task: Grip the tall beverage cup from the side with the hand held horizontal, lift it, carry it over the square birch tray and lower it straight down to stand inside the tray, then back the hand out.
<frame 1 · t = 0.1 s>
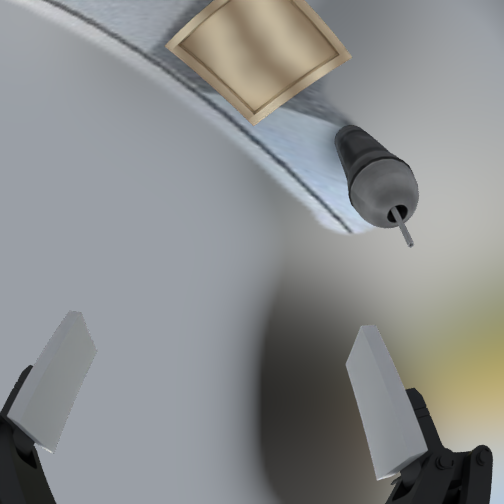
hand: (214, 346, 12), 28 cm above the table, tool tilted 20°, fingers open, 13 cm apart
beverage cup: (350, 140, 32), on the table
tray: (259, 42, 24), on the table
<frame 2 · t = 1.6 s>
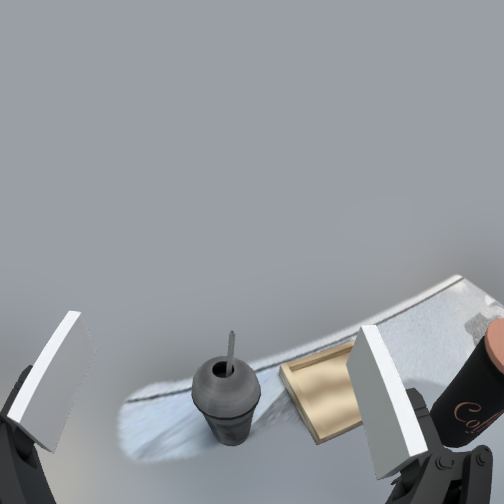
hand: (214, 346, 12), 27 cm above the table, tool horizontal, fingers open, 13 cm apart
coffee jar: (451, 423, 28), on the table
beverage cup: (231, 432, 32), on the table
tray: (337, 392, 37), on the table
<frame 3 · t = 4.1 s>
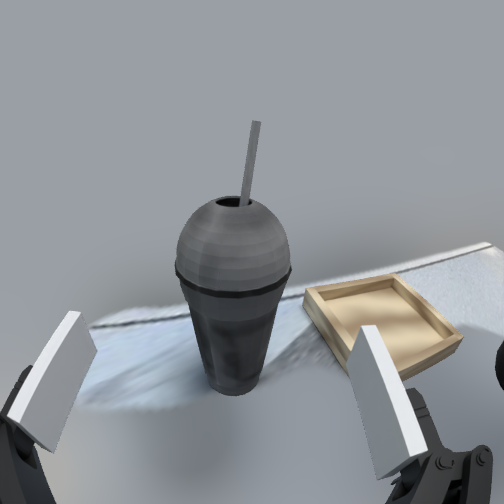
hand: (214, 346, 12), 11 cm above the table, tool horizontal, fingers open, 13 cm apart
beverage cup: (233, 376, 23), on the table
tray: (381, 331, 28), on the table
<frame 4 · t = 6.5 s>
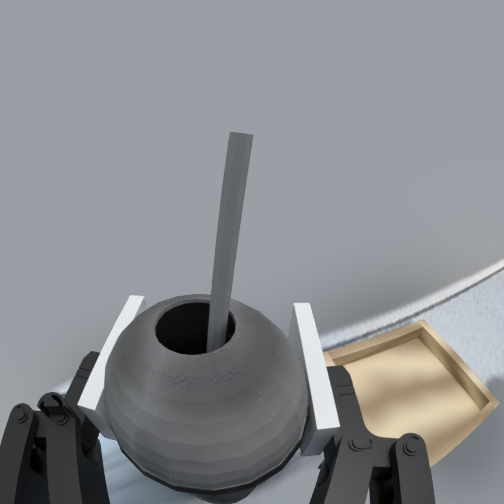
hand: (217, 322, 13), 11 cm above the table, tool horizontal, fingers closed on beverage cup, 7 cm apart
beverage cup: (221, 478, 14), on the table, touching gripper
tray: (407, 401, 19), on the table
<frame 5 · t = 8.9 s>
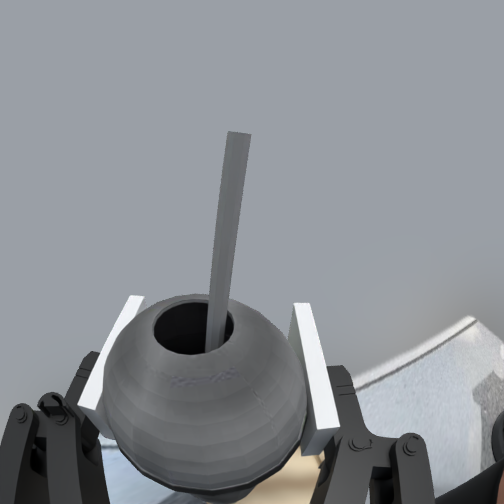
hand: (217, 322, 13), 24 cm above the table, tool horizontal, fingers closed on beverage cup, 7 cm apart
beverage cup: (221, 478, 14), point 12 cm above the table, touching gripper
tray: (270, 491, 21), on the table
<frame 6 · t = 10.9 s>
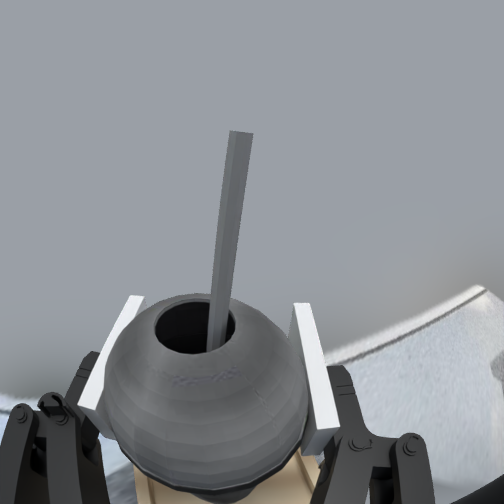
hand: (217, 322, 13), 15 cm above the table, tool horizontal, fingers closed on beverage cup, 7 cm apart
beverage cup: (221, 478, 14), point 4 cm above the table, touching gripper
tray: (228, 487, 16), on the table
when the fingers open (13 cm above the table, at t = 11.7 s): beverage cup stays where it is, resting on tray.
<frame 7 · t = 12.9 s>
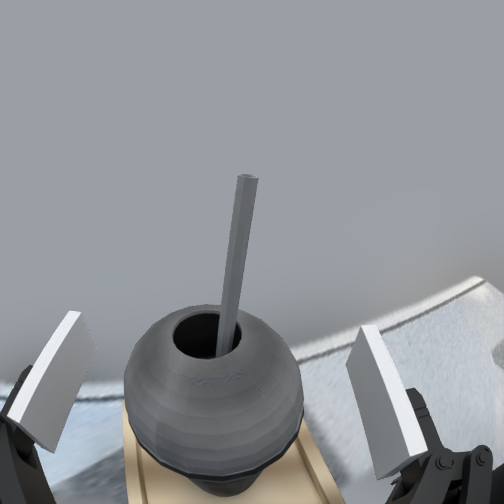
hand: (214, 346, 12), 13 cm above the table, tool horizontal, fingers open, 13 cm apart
beverage cup: (224, 472, 15), point 1 cm above the table, touching tray
tray: (223, 475, 16), on the table
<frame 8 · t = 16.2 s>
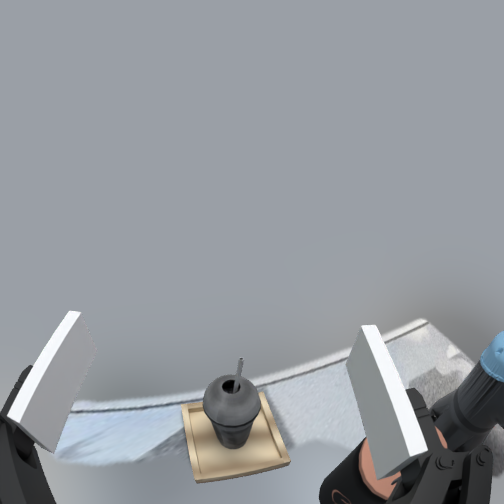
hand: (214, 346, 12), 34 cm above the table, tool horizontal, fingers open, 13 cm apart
coffee jar: (350, 494, 26), on the table
beverage cup: (232, 437, 36), point 1 cm above the table, touching tray
tray: (232, 439, 36), on the table
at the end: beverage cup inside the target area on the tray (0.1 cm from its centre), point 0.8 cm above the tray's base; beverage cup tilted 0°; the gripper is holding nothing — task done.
